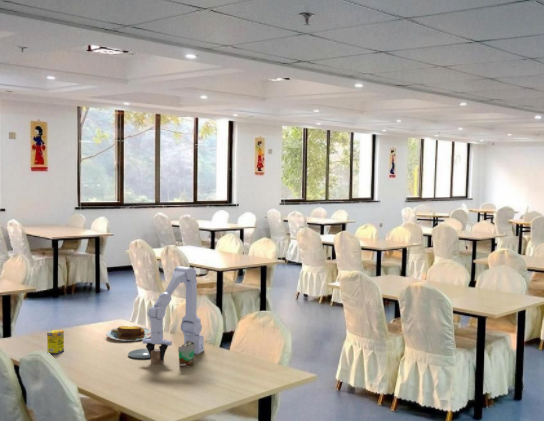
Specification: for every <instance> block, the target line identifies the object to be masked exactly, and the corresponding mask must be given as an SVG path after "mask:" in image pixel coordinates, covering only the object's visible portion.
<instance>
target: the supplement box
mask: <svg viewBox="0 0 544 421" xmlns="http://www.w3.org/2000/svg"><path fill="white" fill-rule="evenodd" d="M64 333H65V331H64V330H61V329H60V330H59V329H53V330H50V331H47V333H46V336H47V338H46V339H47V341H46V342H47V348H46V349H47V353H48V352H49V353H51V354H50V355H57V356H58V355H60V354H61V353H64V352H65V338H64V335H65V334H64Z"/></svg>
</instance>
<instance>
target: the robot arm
mask: <svg viewBox="0 0 544 421" xmlns="http://www.w3.org/2000/svg"><path fill="white" fill-rule="evenodd" d="M182 283H183V284H185V315H184V316H183V317H182V318H181V323H180V330H181V332H182V334H183V344H186V341H192V342H194V344H195V347H196V348H195V349H194V355H199V354H201V353H202V352H203V351H205V348H204V347H205V346H204V345H205V341H204V340H205V339H204V336H203V335H202V334H201V332H202V329H203V328H202V327H203V326H202V322H201V318H200V317H199V316H198V315H197V297H198V295H197V294H198V293H197V292H198V291H197V289H198V288H197V287H198V279H197V271H196V269H195V268H193V267H192V266H190V267H187V266H182V265H181V266H180V265H177V266H175V268H174V269H173V271H172V277H171V279H170V281H169V283H168V285H167V287H166V288H165V290H164V292H162V293H161V292H160V294H159V295H158V298H157V299H156V301H155V302H154V304H153V305H152V306H150V308H149V309H148V312H147V317H148V318H149V321H150V330H151V337H150V338H145V339H141V340H142V341H141V342H142V344H143V345H145V344H146V345H145V347H146V348H145V349H148V351H149V354H150V357H151V351H152V350H154V349H156V348H155V346H156V345H157V346H158V345H159V346H158V349H160V359H161V360H163V359H164V360H165V354H166V351H167V349H168V348H169V346H172V344H173V342H172V340H168V339H164V322H163V320H164V318H165V316H166V312H167V308H168V306H169V304H170V303H171V301H172V295H173V294H174V292H175V290H176V289H177V287H178V286H179V285H180V284H182Z"/></svg>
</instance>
